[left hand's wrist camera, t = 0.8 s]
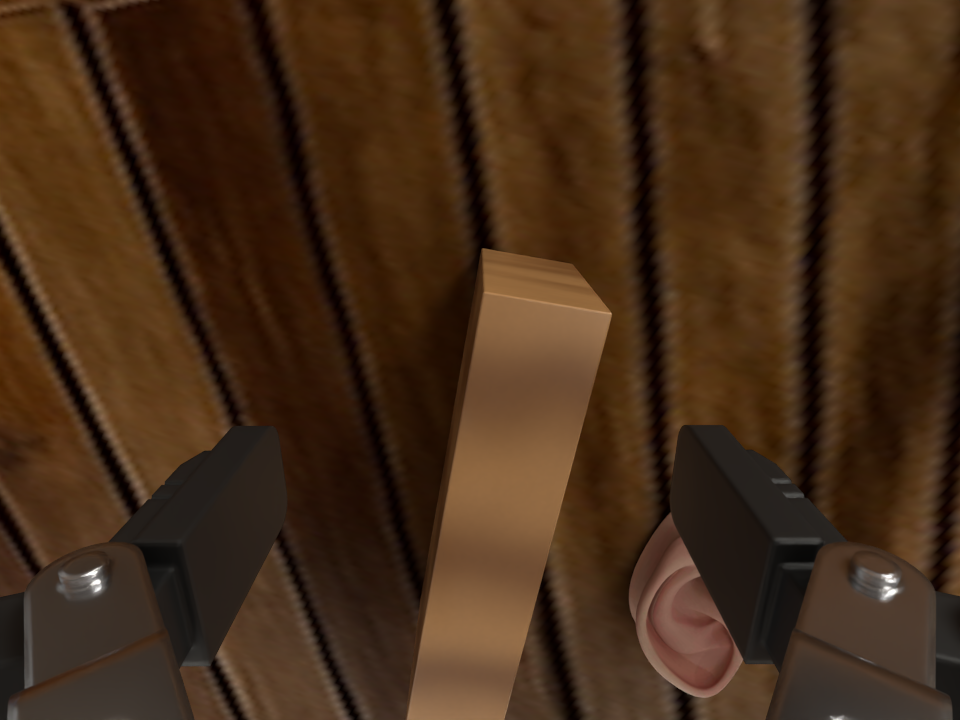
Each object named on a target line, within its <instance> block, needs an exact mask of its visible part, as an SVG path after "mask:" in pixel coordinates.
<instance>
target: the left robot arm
mask: <svg viewBox="0 0 960 720" xmlns="http://www.w3.org/2000/svg"><path fill="white" fill-rule="evenodd" d="M670 509H671V515H672V519H673V522H674V525H675V527H676V529H677V531H678V533H679V535H680V537H681V539H682V541H683V542H684V544H685V546H686V548H687V550H688V552H689V554H690V556H691V558H692V560H693V562H694V564H695V566H696V568H697V570H698V572H699V574H700V576H701V578H702V580H703V582H704V584H705V586H706V587H707V589H708V591H709V593H710V595H711V597H712V599H713V601H714V603H715V605H716V607H717V609H718V611H719V613H720V615H721V617H722V619H723V621H724V623H725V625H726V627H727V629H728V631H729V632H730V634H731V636H732V638H733V640H734V642H735V644H736V646H737V648H738V650H739V652H740V654H741V656H742V658H743V660H744V662H745V664H775V666H776V668H777V669H778V671H779V673H780V674H779V677H778V680H777V683H776V687H775V690H774V693H773V697H772V700H771V703H770V707H769V710H768V713H767V717H766V720H960V596H955V595H951V594H946V593H941V592H937V591H935V590H934V588H933V586H932V584H931V583H930V582H929V580H928V579H927V578H926V577H925V576H924V575H923V574H922V573H921V572H920V571H919V570H918V569H916V568H915V567H914V566H912V565H911V564H909V563H908V562H906V561H905V560H903V559H901V558H899V557H897V556H895V555H893V554H891V553H889V552H887V551H884V550H881V549H879V548H876V547H872V546H869V545H865V544H860V543H853V542H848V541H847V540H846V539H845V538H844V537H843V536H842V535H841V534H840V533H839V532H838V531H837V529H836V528H835V527H834V526H833V525H832V524H831V523H830V522H829V521H828V520H827V519H826V518H825V516H824V515H823V514H822V513H821V512H820V511H819V510H818V509H817V508H816V507H815V506H814V505H813V504H812V502H811V501H810V500H809V499H808V498H804V494H803V493H802V492H801V491H800V489H799V488H798V487H797V486H796V485H795V484H791V480H790V479H789V478H788V477H787V475H786V474H785V473H784V472H783V471H782V470H781V469H780V468H779V467H778V466H777V465H776V464H775V463H773V462H772V461H770V460H768V459H767V458H765V457H763V456H762V455H760V454H758V453H757V452H755V451H753V450H745V449H744V448H743V447H742V446H741V444H740V443H739V442H738V441H737V440H736V439H735V437H734V436H733V435H732V434H731V433H730V432H729V431H728V429H727V428H726V427H725V426H723V425H684V426H682V428H681V429H680V431H679V435H678V440H677V447H676V454H675V462H674V469H673V476H672V483H671V490H670ZM286 511H287V490H286V483H285V476H284V469H283V462H282V455H281V448H280V441H279V436H278V432H277V430H276V429H275V427H273V426H234V427H232V428H231V429H230V430H229V431H228V432H227V433H226V434H225V436H224V437H223V438H222V439H221V440H220V441H219V442H218V444H217V445H216V446H215V447H214V448H213V449H212V450H211V451H203V452H202V453H200V454H198V455H197V456H195V457H193V458H191V459H190V460H188V461H186V462H185V463H183V464H181V465H180V466H179V467H178V468H177V469H176V470H175V471H174V472H173V474H172V475H171V476H170V477H169V478H168V479H167V480H166V481H165V485H161V486H160V487H159V489H158V490H157V491H156V492H155V493H154V494H153V495H152V499H148V500H147V501H146V502H145V504H144V505H143V506H142V507H141V508H140V509H139V510H138V511H137V512H136V513H135V514H134V515H133V516H132V517H131V519H130V520H129V521H128V522H127V523H126V524H125V525H124V526H123V527H122V528H121V529H120V530H119V531H118V532H117V533H116V535H115V536H114V537H113V538H112V539H111V540H110V541H109V542H107V543H100V544H95V545H91V546H88V547H84V548H81V549H79V550H76V551H73V552H71V553H69V554H67V555H65V556H63V557H61V558H59V559H57V560H55V561H54V562H52V563H51V564H49V565H48V566H46V567H45V568H44V569H42V570H41V571H40V572H39V573H38V574H37V575H36V576H35V577H34V578H33V579H32V580H31V582H30V583H29V584H28V586H27V588H26V590H25V592H22V593H18V594H13V595H9V596H4V597H0V720H194V717H193V713H192V710H191V707H190V703H189V700H188V697H187V693H186V690H185V687H184V683H183V680H182V677H181V674H180V670H179V669H180V667H181V666H210V665H211V663H212V661H213V659H214V657H215V656H216V654H217V652H218V650H219V648H220V646H221V644H222V642H223V640H224V638H225V636H226V634H227V632H228V630H229V628H230V627H231V625H232V623H233V621H234V619H235V617H236V615H237V613H238V611H239V609H240V607H241V605H242V603H243V601H244V599H245V598H246V596H247V594H248V592H249V590H250V588H251V586H252V584H253V582H254V580H255V578H256V576H257V574H258V572H259V570H260V569H261V567H262V565H263V563H264V561H265V559H266V557H267V555H268V553H269V551H270V549H271V547H272V545H273V543H274V542H275V540H276V538H277V536H278V534H279V532H280V530H281V528H282V526H283V523H284V520H285V516H286Z"/></svg>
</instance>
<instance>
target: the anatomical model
mask: <svg viewBox="0 0 960 720" xmlns="http://www.w3.org/2000/svg"><path fill="white" fill-rule="evenodd" d="M629 605H630V611H631V614H632V617H633V619H634V621H635V622H636V630H637V635H638V639H639V642H640V645H641V647H642V650H643V652H644V654H645V656H646V657H647V659H648V660H649V662H650V663H651V665H652V666H653V667H654V668H655V669H656V670H657V671H658V672H659V673H660V674H661V675H662V676H663V677H664V678H665V679H667V680H668V681H669V682H670V683H672V684H673V685H675V686H676V687H678V688H679V689H681V690H683V691H684V692H686V693H688V694H691V695H693V696H697V697H703V698H704V697H710V696H713V695H715V694H717V693H718V692H720V691H721V690H722V689H723V688H724V687H725V686H726V685H727V684H728V683H729V681H730V680H731V679H732V677H733V676H734V674H735V673H736V671H737V670H738V668H739V666H740V664H741V663H742V661H743V658H742V656H741V654H740V652H739V650H738V648H737V646H736V644H735V642H734V640H733V638H732V636H731V634H730V632H729V631H728V629H727V627H726V625H725V623H724V621H723V619H722V617H721V615H720V613H719V611H718V609H717V607H716V605H715V603H714V601H713V599H712V597H711V595H710V593H709V591H708V589H707V587H706V586H705V584H704V582H703V580H702V578H701V576H700V574H699V572H698V570H697V568H696V566H695V564H694V562H693V560H692V558H691V556H690V554H689V552H688V550H687V548H686V546H685V544H684V542H683V541H682V539H681V537H680V535H679V533H678V531H677V529H676V527H675V525H674V522H673V519H672V515H671V512H670V513H669V514H668V515H667V516H666V518H665V519H664V520H663V521H662V522H661V524H660V525H659V527H658V528H657V529H656V531H655V532H654V534H653V535H652V537H651V539H650V540H649V542H648V543H647V545H646V547H645V548H644V550H643V552H642V554H641V556H640V558H639V560H638V562H637V564H636V567H635V569H634V572H633V575H632V578H631V582H630V588H629Z"/></svg>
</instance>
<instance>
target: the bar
mask: <svg viewBox="0 0 960 720" xmlns="http://www.w3.org/2000/svg"><path fill="white" fill-rule="evenodd" d="M611 317H612V313H611V312H610V310H609V309H608V308H607V307H606V305H605V304H604V303H603V302H602V300H601V299H600V298H599V297H598V295H597V294H596V293H595V292H594V290H593V289H592V288H591V287H590V285H589V284H588V283H587V282H586V280H585V279H584V278H583V277H582V275H581V274H580V273H579V272H578V270H577V269H576V268H575V267H574V265H573V264H570V263H564V262H558V261H553V260H547V259H541V258H535V257H530V256H524V255H518V254H512V253H507V252H501V251H495V250H489V249H484V248H483V249H481V254H480V260H479V266H478V271H477V277H476V283H475V289H474V294H473V300H472V306H471V312H470V317H469V323H468V329H467V335H466V340H465V346H464V352H463V358H462V363H461V369H460V375H459V381H458V386H457V392H456V398H455V404H454V410H453V415H452V421H451V427H450V433H449V438H448V444H447V450H446V456H445V461H444V467H443V473H442V479H441V484H440V490H439V496H438V502H437V507H436V513H435V519H434V525H433V530H432V536H431V542H430V548H429V553H428V559H427V565H426V571H425V576H424V582H423V588H422V594H421V599H420V607H419V615H418V623H417V631H416V639H415V647H414V655H413V663H412V671H411V679H410V687H409V695H408V703H407V711H406V719H405V720H504V719H505V715H506V711H507V707H508V704H509V700H510V696H511V692H512V689H513V685H514V681H515V677H516V674H517V670H518V666H519V662H520V659H521V655H522V651H523V647H524V643H525V640H526V636H527V632H528V628H529V625H530V621H531V617H532V613H533V610H534V606H535V602H536V598H537V595H538V591H539V587H540V583H541V580H542V576H543V572H544V568H545V565H546V561H547V557H548V553H549V550H550V546H551V542H552V538H553V535H554V531H555V527H556V523H557V520H558V516H559V512H560V508H561V505H562V501H563V497H564V493H565V490H566V486H567V482H568V478H569V475H570V471H571V467H572V463H573V460H574V456H575V452H576V448H577V445H578V441H579V437H580V433H581V430H582V426H583V422H584V418H585V415H586V411H587V407H588V403H589V400H590V396H591V392H592V388H593V385H594V381H595V377H596V373H597V370H598V366H599V362H600V358H601V355H602V351H603V347H604V343H605V340H606V336H607V332H608V328H609V325H610V321H611Z"/></svg>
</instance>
